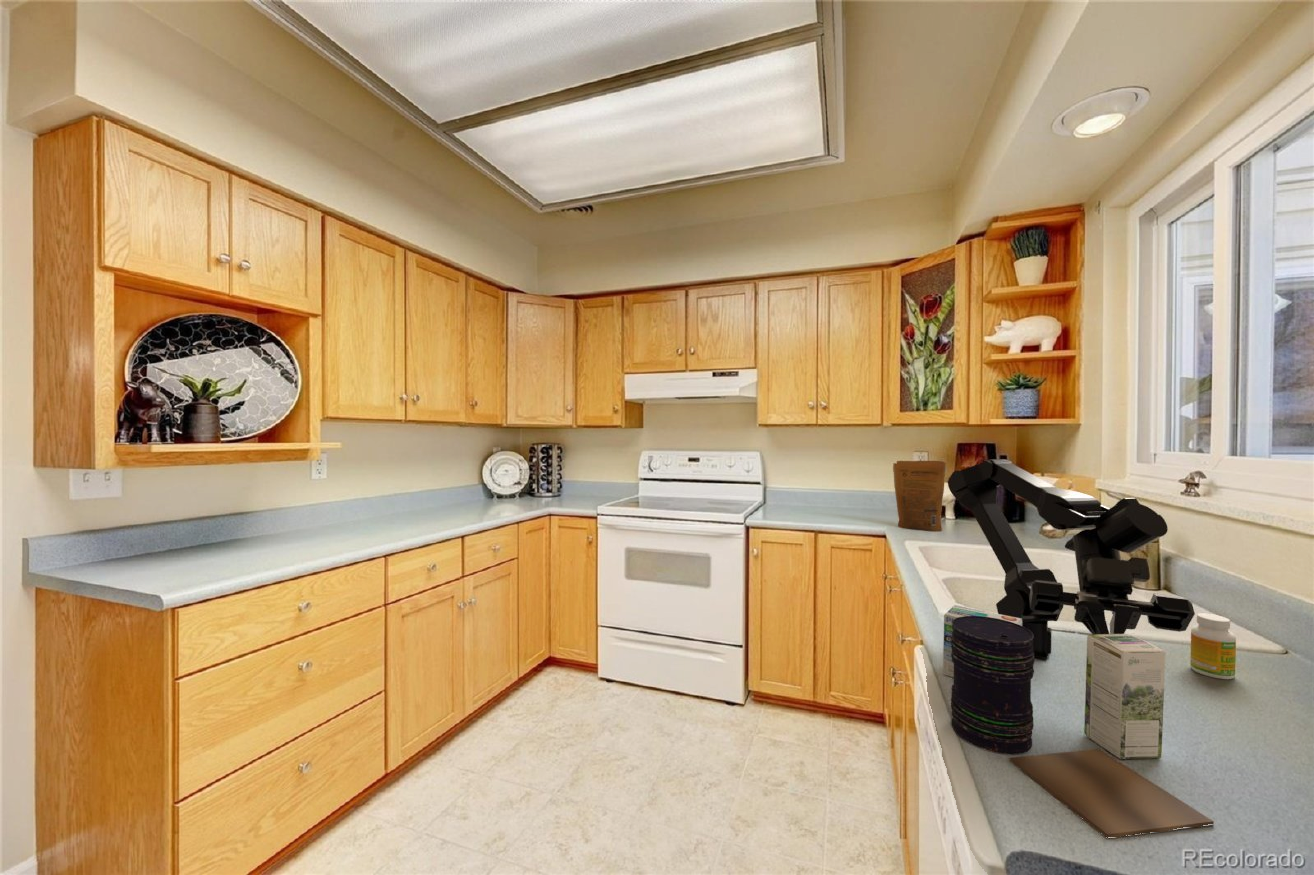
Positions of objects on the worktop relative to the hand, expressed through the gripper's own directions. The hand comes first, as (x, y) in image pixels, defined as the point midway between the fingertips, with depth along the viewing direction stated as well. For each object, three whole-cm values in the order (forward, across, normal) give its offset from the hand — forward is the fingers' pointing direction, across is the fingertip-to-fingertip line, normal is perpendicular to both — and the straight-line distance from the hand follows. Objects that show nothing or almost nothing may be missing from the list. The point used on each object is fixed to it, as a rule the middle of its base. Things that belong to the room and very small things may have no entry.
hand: (1113, 658), depth 77 cm
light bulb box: (+2, -16, +12) cm, 20 cm away
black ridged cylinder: (+15, -15, -1) cm, 21 cm away
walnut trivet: (+20, -4, -6) cm, 21 cm away
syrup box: (+11, 0, +3) cm, 12 cm away
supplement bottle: (-13, +18, +27) cm, 36 cm away
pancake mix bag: (-93, -36, +106) cm, 146 cm away
